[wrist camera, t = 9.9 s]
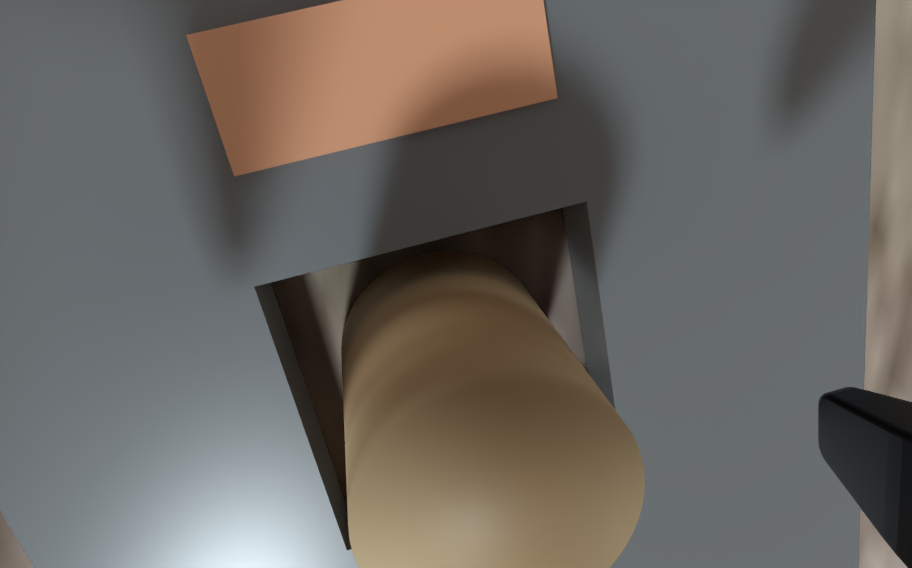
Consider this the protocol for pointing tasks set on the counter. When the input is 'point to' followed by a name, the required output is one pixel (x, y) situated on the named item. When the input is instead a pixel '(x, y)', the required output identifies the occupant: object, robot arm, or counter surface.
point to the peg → (477, 428)
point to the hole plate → (416, 222)
